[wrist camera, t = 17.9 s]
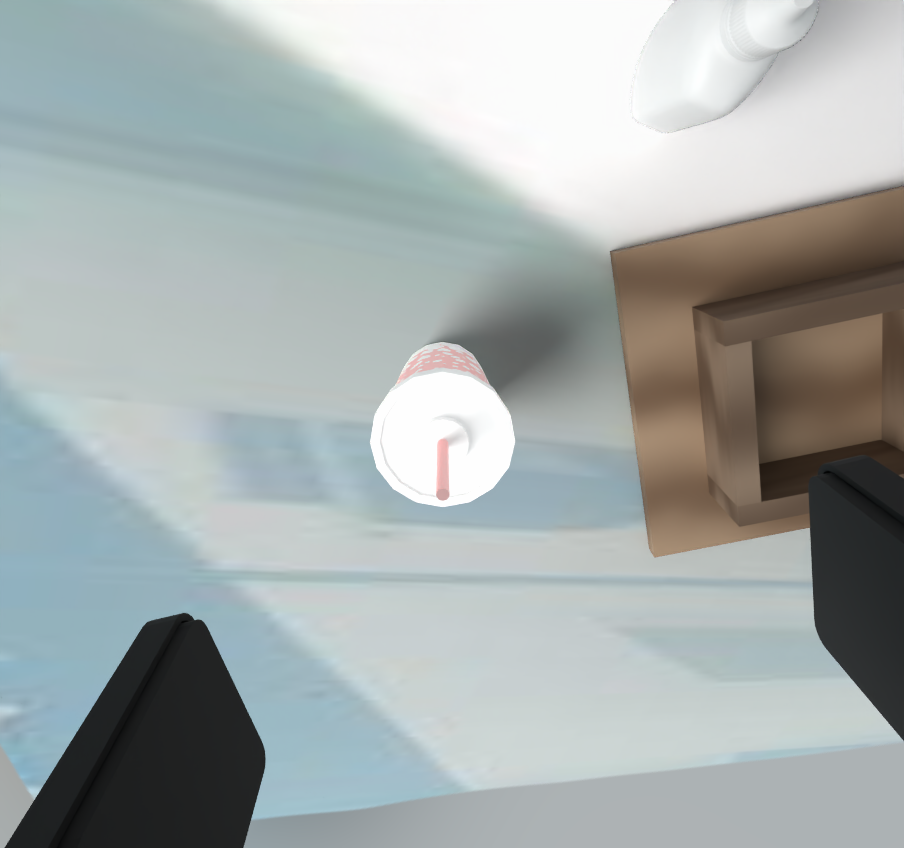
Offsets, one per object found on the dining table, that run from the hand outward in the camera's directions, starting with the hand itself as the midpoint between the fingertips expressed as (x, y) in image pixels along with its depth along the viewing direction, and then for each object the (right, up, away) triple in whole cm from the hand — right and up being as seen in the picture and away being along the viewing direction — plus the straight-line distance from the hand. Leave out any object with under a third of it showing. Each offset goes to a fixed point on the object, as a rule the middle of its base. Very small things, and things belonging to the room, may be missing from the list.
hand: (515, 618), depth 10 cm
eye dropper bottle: (+9, +20, +21) cm, 30 cm away
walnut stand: (+18, +5, +26) cm, 32 cm away
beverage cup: (-1, +5, +26) cm, 27 cm away
